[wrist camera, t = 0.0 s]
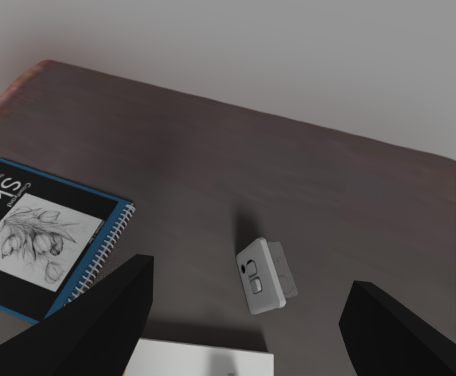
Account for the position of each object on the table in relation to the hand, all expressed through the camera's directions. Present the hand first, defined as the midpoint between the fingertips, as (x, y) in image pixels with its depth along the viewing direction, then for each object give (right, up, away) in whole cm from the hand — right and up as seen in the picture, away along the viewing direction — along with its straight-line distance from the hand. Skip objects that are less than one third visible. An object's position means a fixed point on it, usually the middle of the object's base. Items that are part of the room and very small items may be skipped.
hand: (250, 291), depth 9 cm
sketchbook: (-35, -4, +33) cm, 48 cm away
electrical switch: (+4, -12, +31) cm, 34 cm away
